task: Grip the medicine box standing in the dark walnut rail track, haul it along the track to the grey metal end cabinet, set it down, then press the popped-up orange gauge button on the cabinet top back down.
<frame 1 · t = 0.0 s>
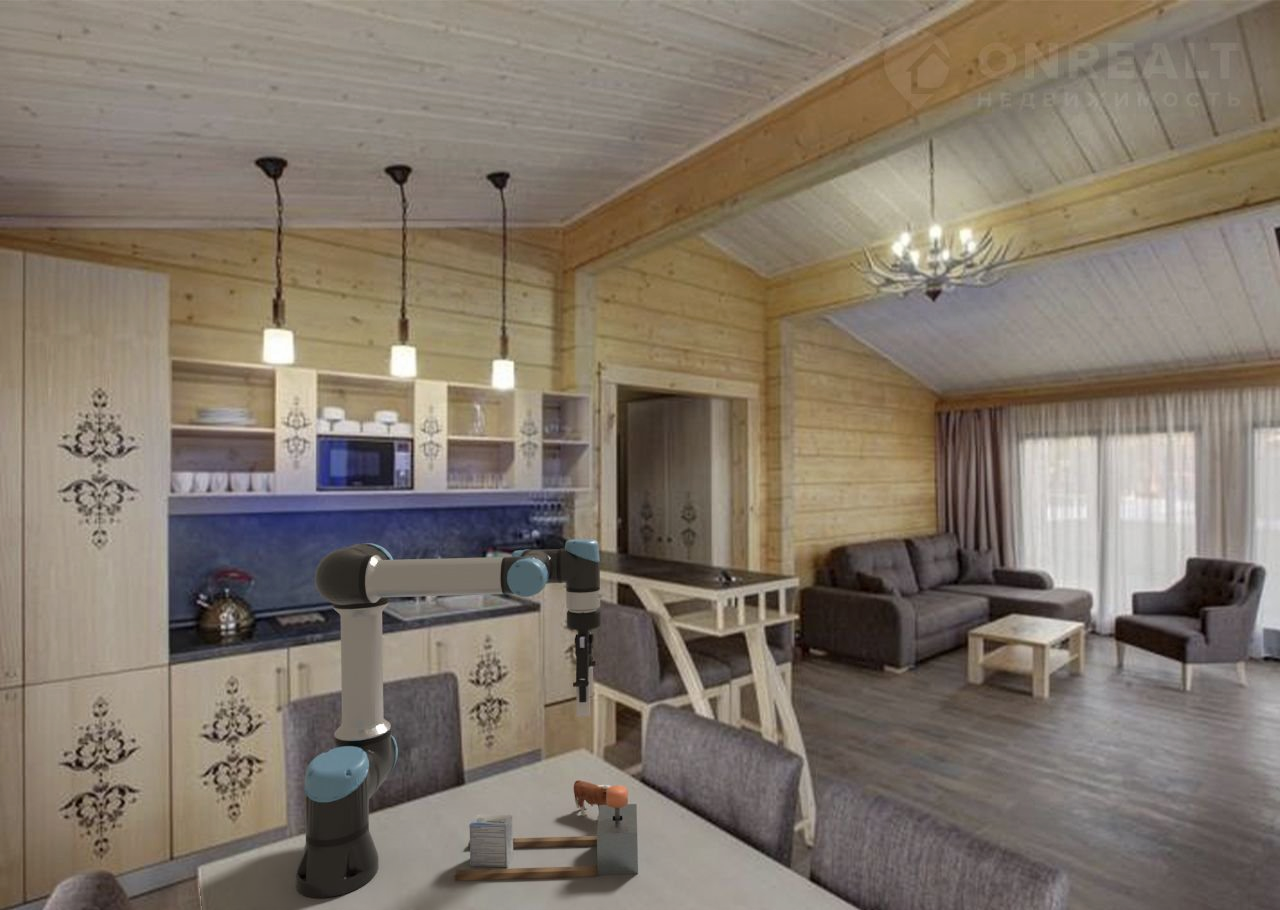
hand: (585, 705, 155), 28 cm above the table, fingers open, 13 cm apart
medicine box: (492, 862, 144), on the table
end cabinet: (618, 857, 144), on the table
bull figurine: (597, 817, 162), on the table
track: (530, 860, 144), on the table
gauge button: (617, 806, 145), point 10 cm above the table, slide at 3.0 cm
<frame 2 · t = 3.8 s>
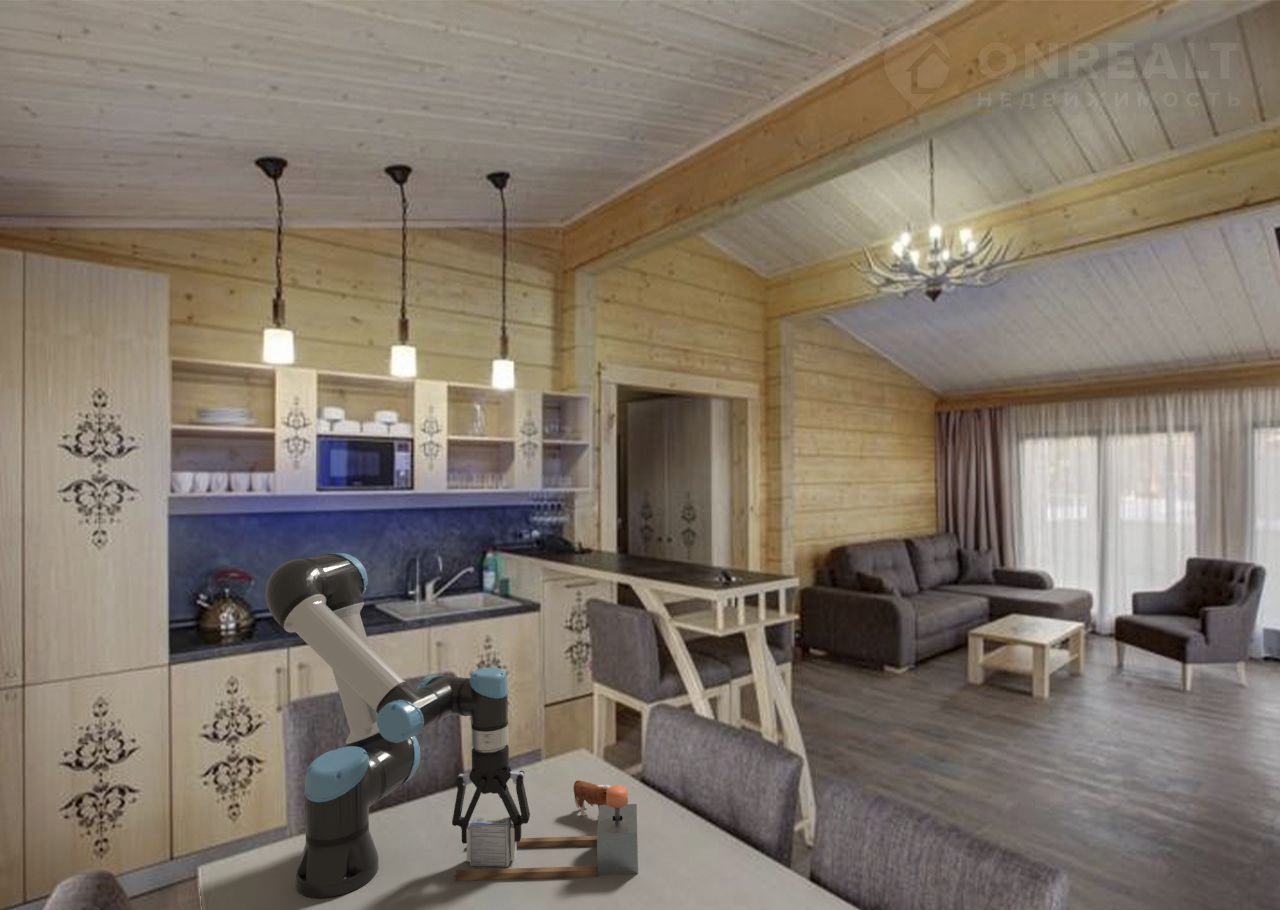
hand: (492, 857, 144), 1 cm above the table, fingers closed on medicine box, 8 cm apart
medicine box: (492, 862, 144), on the table, touching gripper
everything else where it was.
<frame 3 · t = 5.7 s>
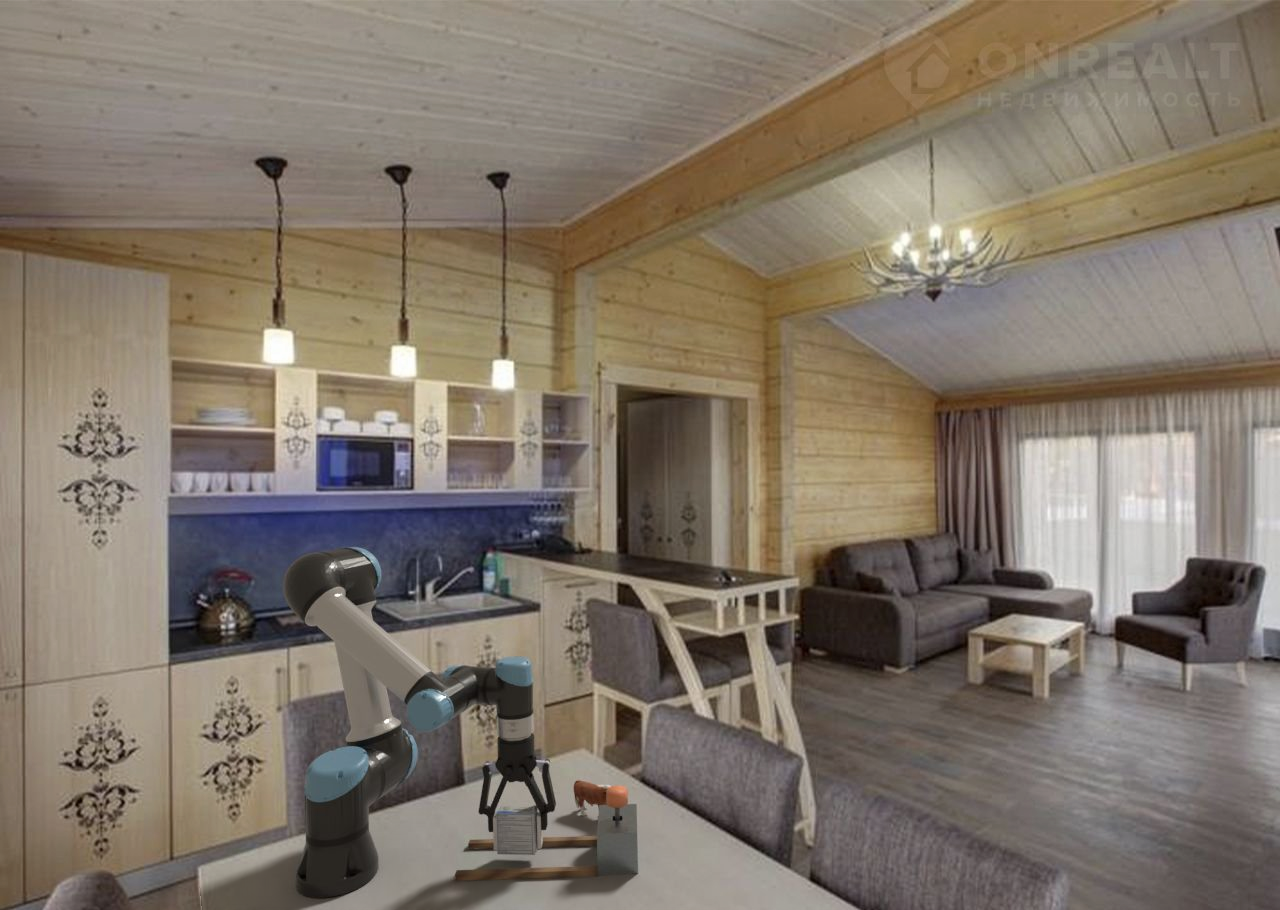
hand: (518, 845, 144), 3 cm above the table, fingers closed on medicine box, 8 cm apart
medicine box: (518, 851, 144), point 2 cm above the table, touching gripper
everything else where it was.
when the fingers open (1 cm above the table, at t = 7.8 s): medicine box stays where it is, on the table.
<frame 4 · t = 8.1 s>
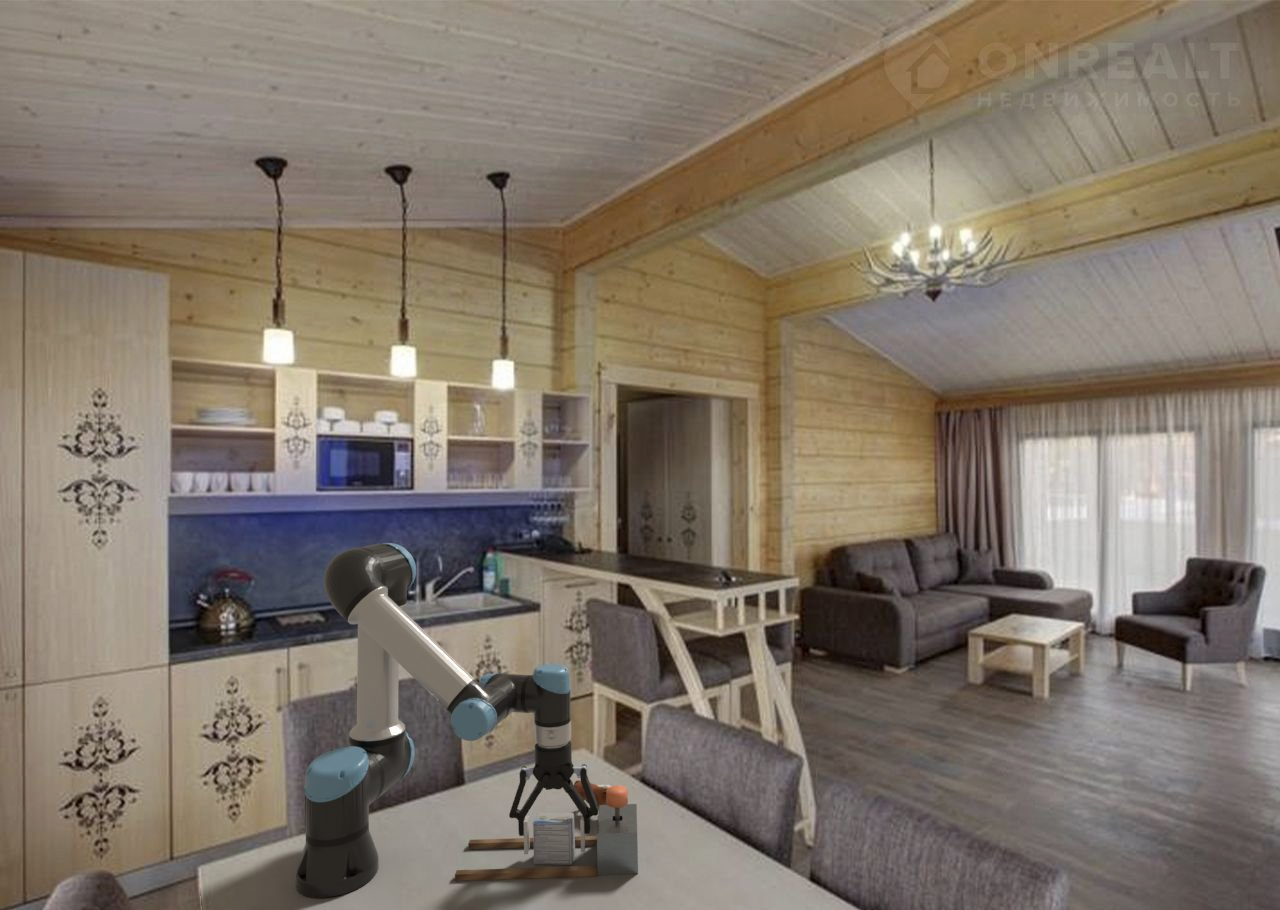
hand: (555, 849, 144), 2 cm above the table, fingers open, 11 cm apart
medicine box: (554, 860, 144), on the table
everything else where it was.
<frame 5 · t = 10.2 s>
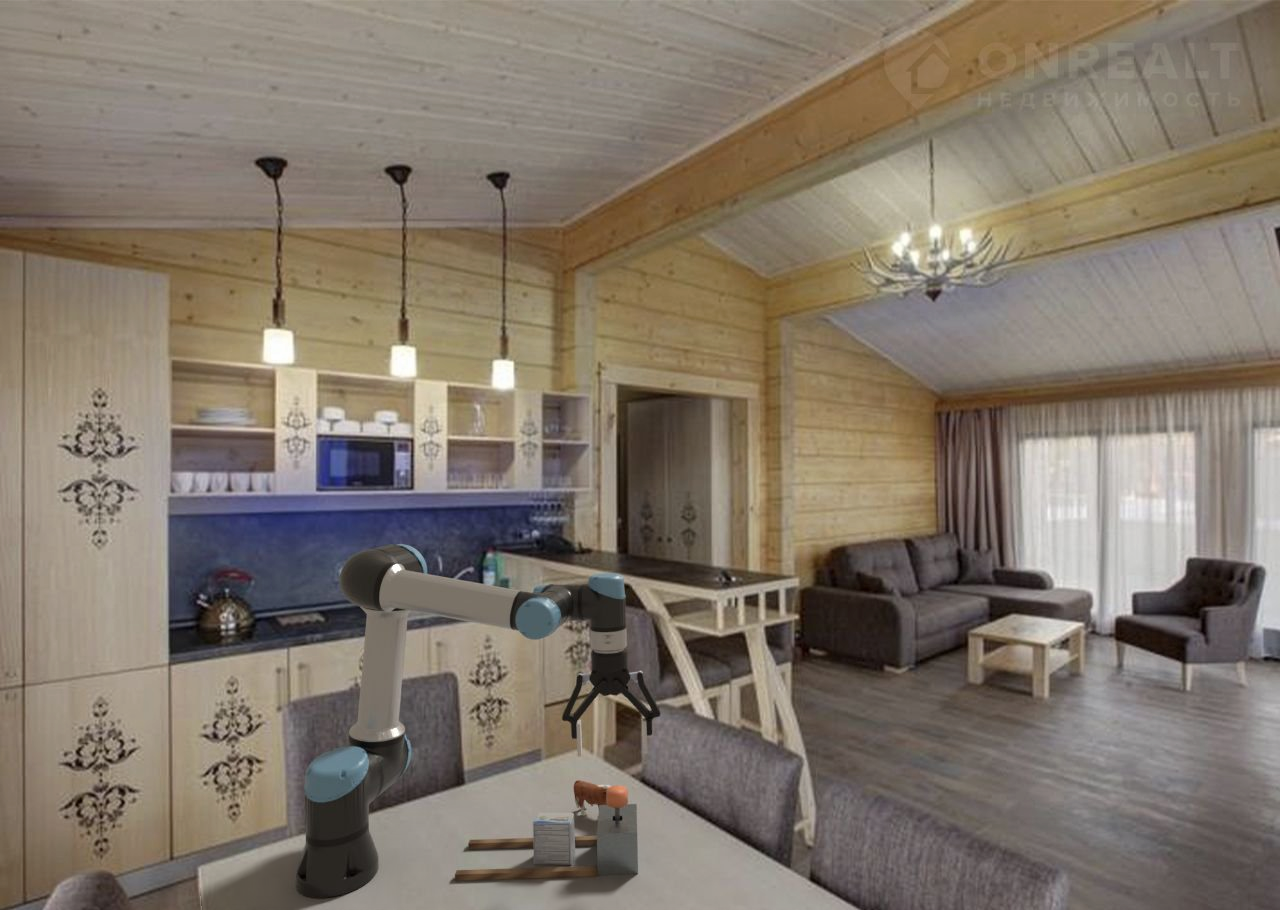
hand: (612, 752, 145), 22 cm above the table, fingers open, 13 cm apart
nothing on the table moved.
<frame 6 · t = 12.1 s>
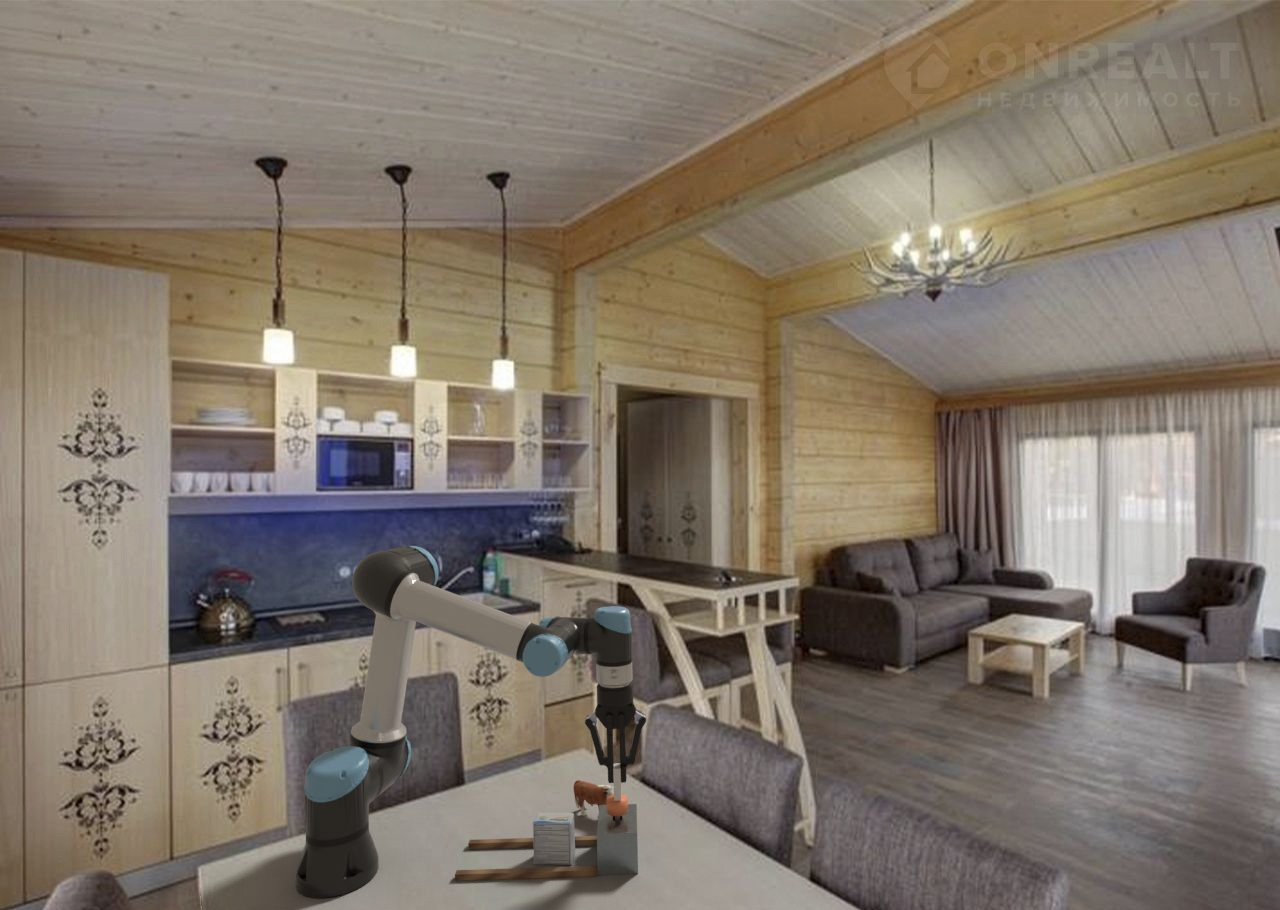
hand: (617, 797, 145), 12 cm above the table, fingers closed
gauge button: (617, 814, 145), point 9 cm above the table, slide at 1.2 cm, touching gripper
everything else where it was.
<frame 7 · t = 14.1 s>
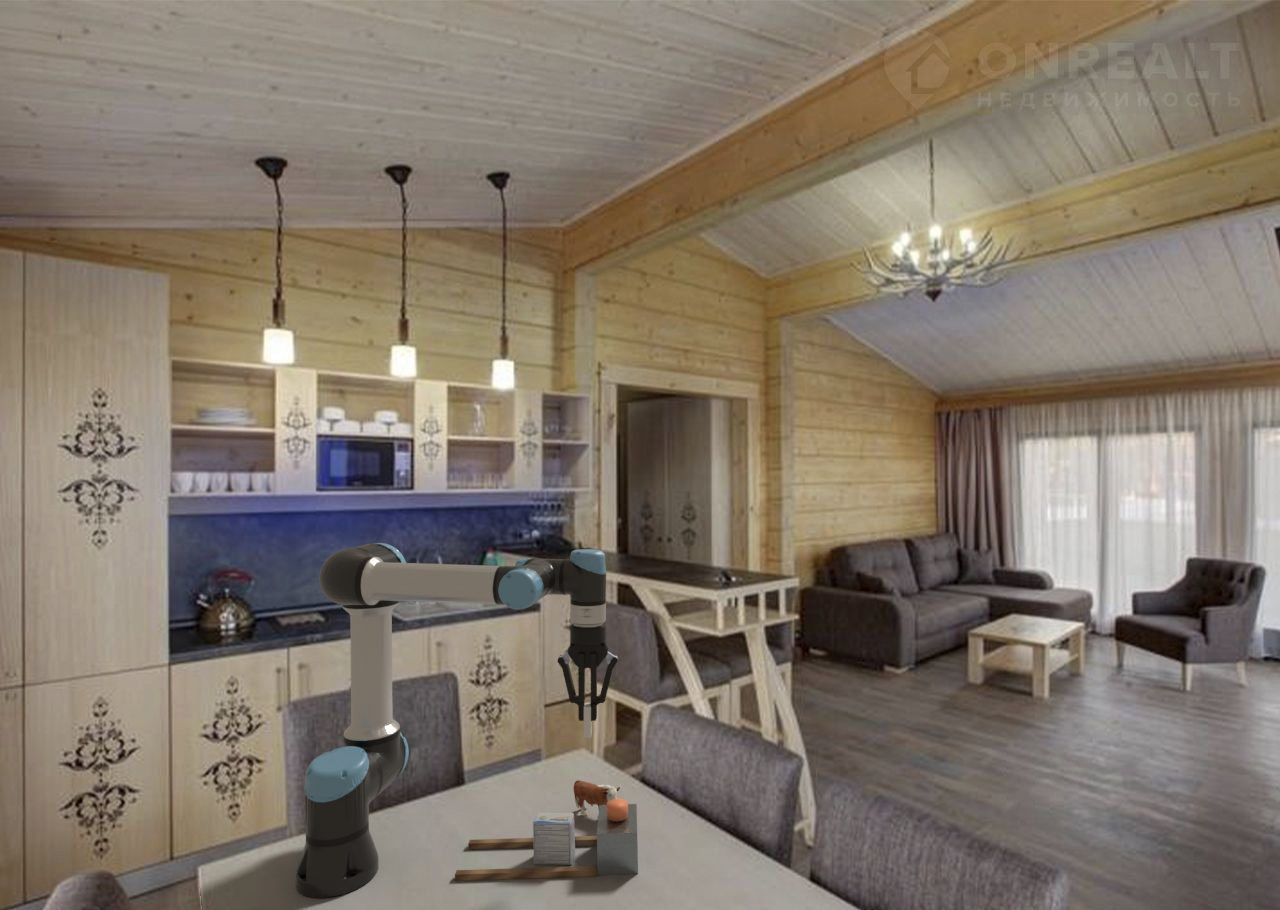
hand: (587, 735, 147), 24 cm above the table, fingers closed
gauge button: (617, 819, 144), point 8 cm above the table, slide at 0.3 cm
everything else where it was.
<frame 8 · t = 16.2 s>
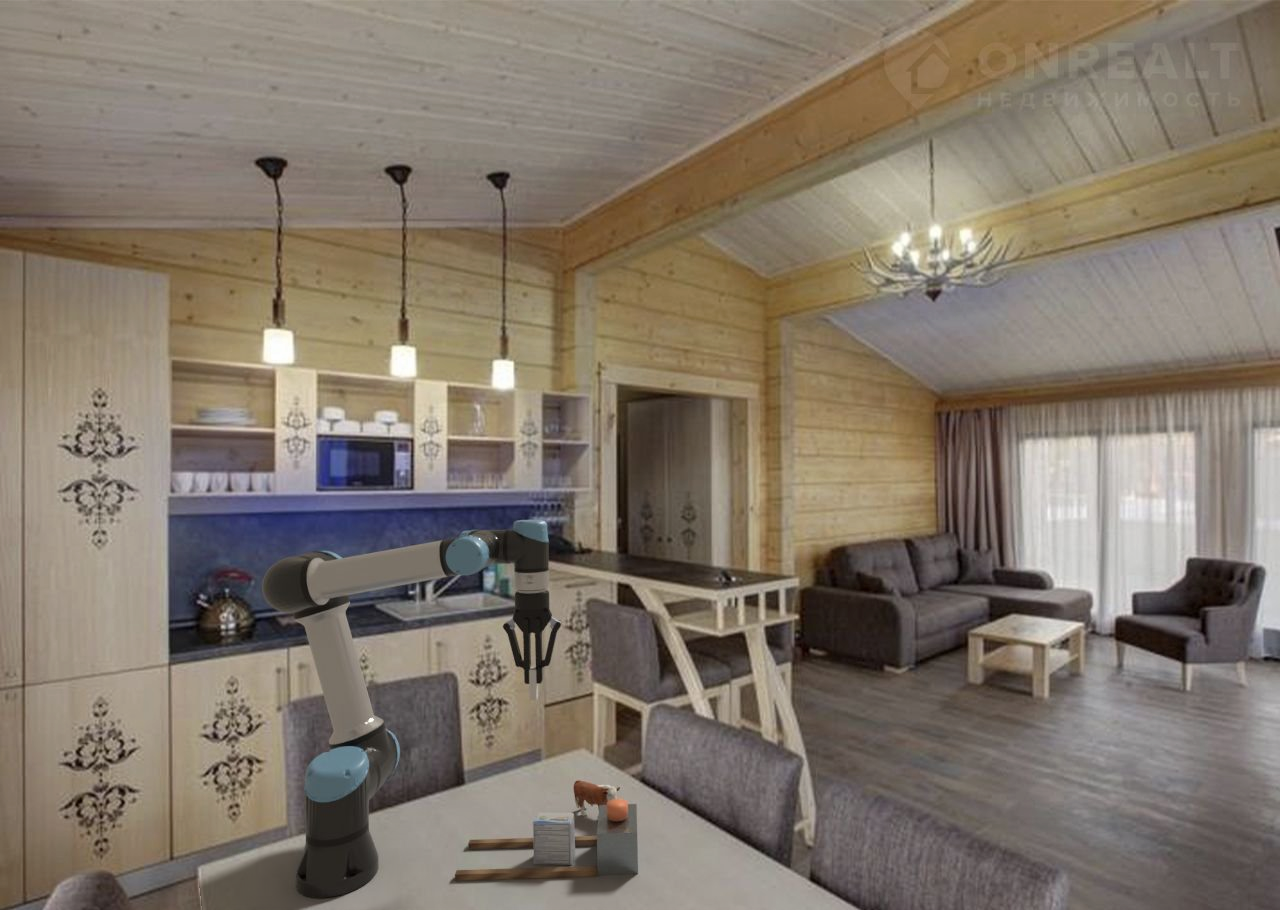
hand: (533, 698, 153), 30 cm above the table, fingers closed
nothing on the table moved.
at the end: medicine box inside the target area (0.6 cm from its centre), on the table; medicine box tilted 0°; gauge button slide at 0.3 cm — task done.
